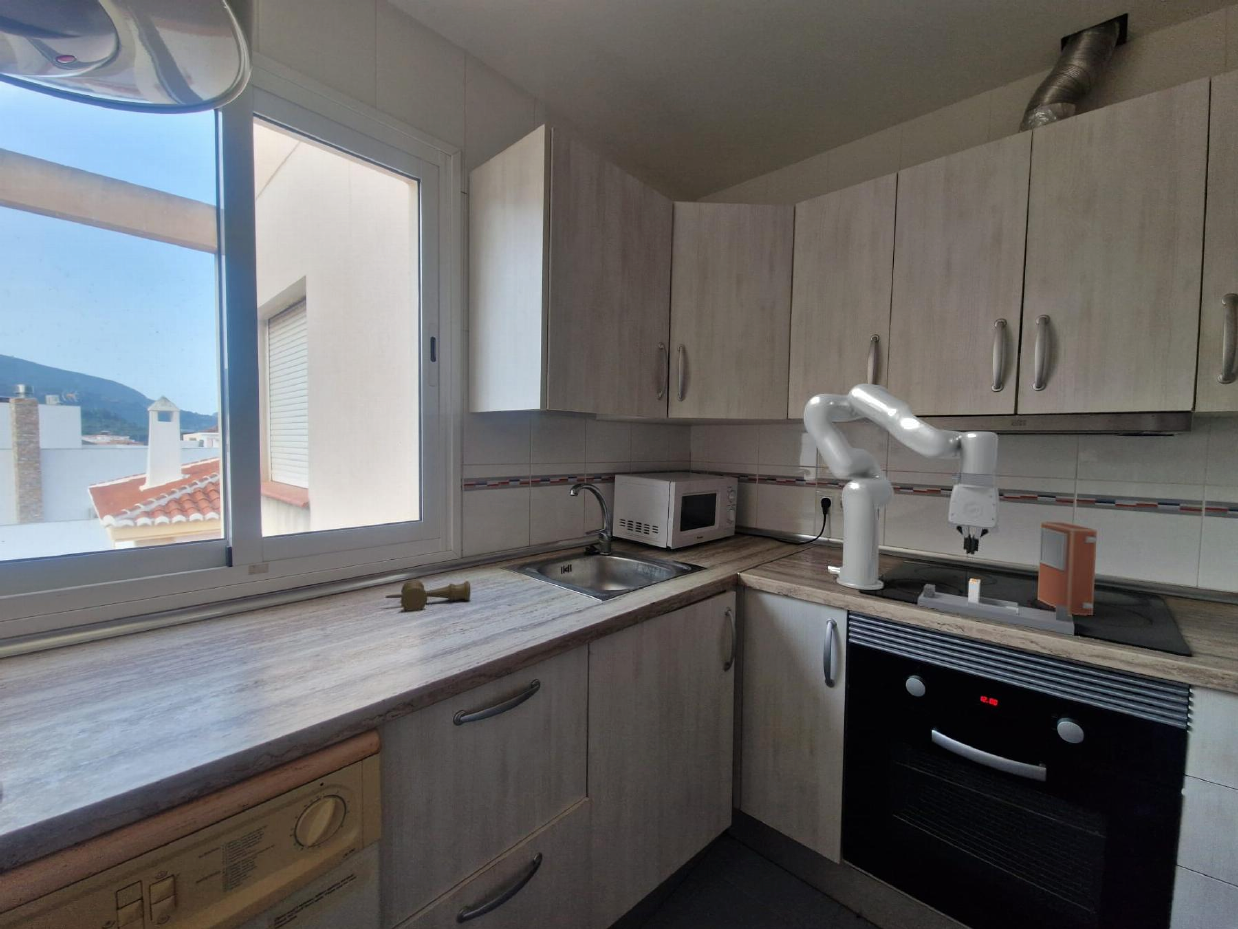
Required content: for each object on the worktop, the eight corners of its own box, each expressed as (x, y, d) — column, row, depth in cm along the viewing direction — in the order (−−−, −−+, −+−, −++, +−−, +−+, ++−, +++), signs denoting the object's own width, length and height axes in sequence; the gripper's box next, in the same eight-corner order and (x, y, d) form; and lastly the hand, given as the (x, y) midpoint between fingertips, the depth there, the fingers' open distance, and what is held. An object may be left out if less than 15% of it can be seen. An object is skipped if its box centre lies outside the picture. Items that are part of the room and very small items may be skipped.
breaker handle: (968, 603, 125) (969, 581, 125) (969, 599, 129) (970, 577, 128) (977, 605, 124) (978, 582, 124) (979, 601, 127) (980, 579, 127)
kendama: (472, 607, 126) (384, 614, 118) (467, 597, 135) (385, 604, 127) (473, 583, 126) (385, 589, 118) (467, 575, 135) (385, 580, 127)
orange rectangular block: (1059, 600, 137) (1100, 618, 122) (1030, 598, 138) (1067, 615, 124) (1063, 521, 136) (1104, 530, 122) (1033, 520, 138) (1071, 529, 123)
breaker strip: (917, 606, 130) (918, 588, 130) (924, 597, 137) (924, 581, 137) (1073, 635, 111) (1074, 615, 110) (1071, 623, 118) (1072, 604, 118)
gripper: (938, 479, 127) (933, 550, 128) (1013, 484, 118) (1007, 561, 119) (942, 477, 133) (937, 546, 134) (1014, 482, 124) (1008, 556, 125)
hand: (970, 553), depth 127 cm, fingers closed
